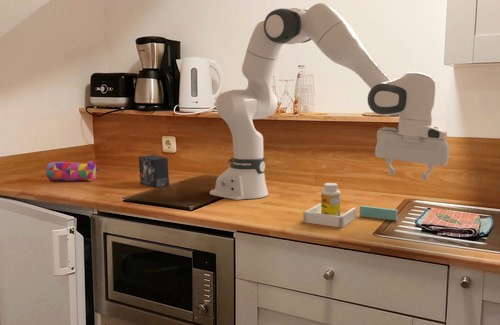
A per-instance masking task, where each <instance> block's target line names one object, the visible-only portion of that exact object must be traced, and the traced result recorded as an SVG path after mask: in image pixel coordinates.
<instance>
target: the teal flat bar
mask: <svg viewBox="0 0 500 325" xmlns="http://www.w3.org/2000/svg"><path fill="white" fill-rule="evenodd" d="M359 217H365V218H374V219H381V220H388V221H397V220H398V209H394V208H384V207H375V206H368V205H359Z"/></svg>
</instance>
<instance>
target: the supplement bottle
mask: <svg viewBox="0 0 500 325" xmlns="http://www.w3.org/2000/svg"><path fill="white" fill-rule="evenodd" d="M338 187H339V185H338V183H336V182H325V183H324V184H323V190H321V196H320V197H321V214H328V215H336V216H340V214H341V191H340V190H339V188H338Z"/></svg>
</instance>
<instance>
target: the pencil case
mask: <svg viewBox="0 0 500 325" xmlns="http://www.w3.org/2000/svg"><path fill="white" fill-rule="evenodd" d="M97 162H98V161H97V160H94V161H91V160H89V161H87V162H76V161H75V162H74V161H73V162H71V161H52V162H48V164H47V166H46V169H45V174H46V177H47V179H48V180H49V181H51V182H52V181H53V182H54V180H55V181H59V182H93V181H95V180H96V179H97V176H98V175H97V173H99V171H100V167H99V168H97V165H96V163H97Z"/></svg>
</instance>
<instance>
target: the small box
mask: <svg viewBox="0 0 500 325" xmlns="http://www.w3.org/2000/svg"><path fill="white" fill-rule="evenodd" d="M138 165H139V166H138V167H139V180H140V181H139V182H140V184H141V185H144V186H147V187H151V188H153V189H157V188H164V187H170V179H169V158H168V157H164V156H159V155H156V154H155V155H154V154H148V155H141V156H138Z"/></svg>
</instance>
